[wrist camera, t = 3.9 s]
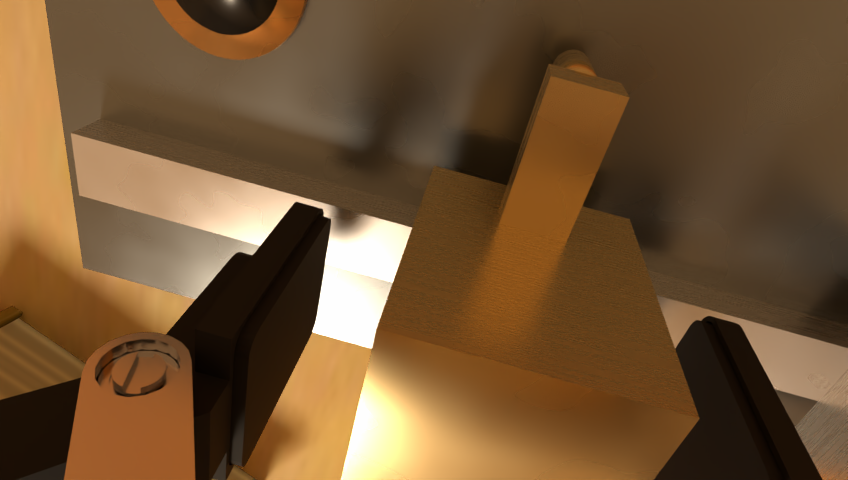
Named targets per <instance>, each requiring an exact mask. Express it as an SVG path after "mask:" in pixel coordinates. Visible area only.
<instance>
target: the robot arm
mask: <svg viewBox="0 0 848 480" xmlns="http://www.w3.org/2000/svg"><path fill="white" fill-rule="evenodd" d="M323 215H324V212H323V209H321V208H318V207H314V206H311V205H307V204H303V203H300V202H295V203H294V204H293V205H292V206H291V208H290V209H289V210H288V211H287V213H286V214H285V215H284V216H283V218H282V219H281V220H280V221H279V223H278V224H277V225H276V227H275V228H274V229H273V230H272V232H271V233H270V234H269V235H268V237H267V238H266V239H265V240H264V242H263V243H262V244H261V246H260V247H259V248H258V249H257V251H256V252H255V253H254V254H253V255H250V254H246V253H242V252H238V253H236V254H235V255H233V256H232V257H231V258H230V260H229V261H228V262H227V263H226V264H225V266H224V267H223V268H222V269H221V270H220V271H219V273H218V274H217V275H216V276H215V277H214V279H213V280H212V281H211V282H210V283H209V284H208V286H207V287H206V288H205V289H204V290H203V292H202V293H201V294H200V295H199V296H198V297H197V299H196V300H195V301H194V302H193V303H192V305H191V306H190V307H189V308H188V309H187V310H186V312H185V313H184V314H183V315H182V316H181V317H180V319H179V320H178V321H177V322H176V323H175V325H174V326H173V327H172V328H171V329H170V330H169V332H168V333H167V334H166V335H164V334H160V333H148V332H140V333H135V334H129V335H124V336H122V337H119V338H116V339H114V340H111V341H109V342H107V343H106V344H104V345H103V346H101V347H100V348H98V349H97V350H96V351H95V352H94V353H93V354H92V355H91V356H90V357H89V358H88V360H87V361H86V364H85V366H84V369H83V371H82V376H81V378H78V379H74V380H70V381H67V382H63V383H60V384H56V385H52V386H49V387H45V388H41V389H38V390H34V391H31V392H27V393H23V394H20V395H16V396H12V397H9V398H5V399H2V400H0V480H212V479H215V480H227V478H228V476H229V474H230V473H231V471H232V469H233V467H234V465H238V466H242V467H243V466H245V464H246V463H247V461H248V459H249V457H250V455H251V453H252V451H253V449H254V447H255V445H256V443H257V441H258V439H259V437H260V435H261V434H262V432H263V430H264V428H265V426H266V424H267V422H268V420H269V418H270V416H271V414H272V412H273V410H274V408H275V406H276V404H277V402H278V400H279V398H280V396H281V394H282V392H283V390H284V388H285V386H286V384H287V382H288V380H289V378H290V376H291V374H292V372H293V370H294V368H295V366H296V364H297V362H298V360H299V358H300V356H301V354H302V352H303V350H304V348H305V346H306V344H307V342H308V340H309V338H310V336H311V334H312V332H313V329H314V326H315V323H316V319H317V313H318V307H319V300H320V294H321V287H322V281H323V274H324V267H325V261H326V254H327V248H328V241H329V235H330V228H331V218H328V217H324V216H323ZM675 350H676V353H677V356H678V358H679V361H680V364H681V367H682V370H683V373H684V376H685V378H686V381H687V384H688V387H689V390H690V393H691V396H692V398H693V401H694V404H695V407H696V410H697V413H698V416H699V418H700V419H699V420H698V422H697V423H696V424H695V426H694V427H693V428H692V430H691V431H690V432H689V434H688V435H687V436H686V437H685V439H684V440H683V441H682V443H681V444H680V445H679V447H678V448H677V449H676V451H675V452H674V453H673V455H672V456H671V457H670V459H669V460H668V461H667V463H666V464H665V465H664V467H663V468H662V469H661V471H660V472H659V473H658V475H657V476H656V477H655V479H654V480H823V479H822V478H821V476H820V474H819V472H818V470H817V468H816V466H815V464H814V462H813V461H812V459H811V457H810V455H809V453H808V451H807V449H806V447H805V446H804V444H803V442H802V440H801V438H800V436H799V434H798V432H797V430H796V429H795V427H794V425H793V423H792V421H791V419H790V417H789V415H788V413H787V412H786V410H785V408H784V406H783V404H782V402H781V400H780V398H779V397H778V395H777V393H776V391H775V389H774V387H773V385H772V383H771V381H770V380H769V378H768V376H767V374H766V372H765V370H764V368H763V366H762V365H761V363H760V361H759V359H758V357H757V355H756V353H755V351H754V349H753V348H752V346H751V344H750V342H749V340H748V338H747V336H746V334H745V333H744V331H743V329H742V327H741V326H740V325H739V324H737V323H734V322H730V321H727V320H723V319H719V318H716V317H712V316H706V317H705V318H703V319H702V320H701V321H700V320H695V321H694V322H693V323H692V324H691V325H690V327H689V328H688V330H687V331H686V333H685V334H684V336H683V337H682V339H681V340H680V342H679V343H678V345H677V347H676V348H675Z"/></svg>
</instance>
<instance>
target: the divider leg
mask: <svg viewBox="0 0 848 480" xmlns="http://www.w3.org/2000/svg"><path fill="white" fill-rule="evenodd" d="M629 98H630V97H629V95H628V94H627V92H626V90H625V89H624V87H623V85H622V83H619V82H615V81H611V80H608V79H604V78H600V77H597V76H596V74H595V71H594V69H593V67H592V65H591V63H590V61H589V59H588V57H587V56H586V55H585V54H584V53H583V52H581V51H579V50H567V51H565V52H563V53H561V54H560V55H559V56H558V57H557V58H556V59H555V61H554V63H553V65H552V64H548V67H547V70H546V73H545V76H544V78H543V81H542V84H541V87H540V90H539V93H538V96H537V99H536V102H535V105H534V108H533V111H532V113H531V116H530V119H529V122H528V125H527V128H526V131H525V134H524V137H523V140H522V143H521V146H520V148H519V151H518V154H517V157H516V160H515V163H514V166H513V169H512V172H511V175H510V178H509V181H508V183H507V185H503V184H499V183H496V182H492V181H488V180H485V179H481V178H477V177H474V176H470V175H466V174H463V173H459V172H456V171H452V170H448V169H445V168H441V167H437V166H434V167H433V170H432V173H431V176H430V179H429V182H428V184H427V187H426V190H425V193H424V196H423V199H422V201H421V204H420V207H419V210H418V213H417V216H416V218H415V221H414V224H413V227H412V230H411V233H410V235H409V238H408V241H407V244H406V247H405V250H404V252H403V255H402V258H401V261H400V264H399V267H398V269H397V272H396V275H395V278H394V281H393V284H392V286H391V289H390V292H389V295H388V298H387V301H386V303H385V306H384V309H383V312H382V315H381V318H380V320H379V323H378V326H377V329H376V333H375V338H374V342H373V346H372V350H371V355H370V359H369V363H368V367H367V372H366V376H365V380H364V384H363V389H362V393H361V397H360V401H359V406H358V410H357V414H356V418H355V423H354V427H353V431H352V435H351V440H350V444H349V448H348V452H347V457H346V461H345V465H344V469H343V474H342V478H341V480H654V479H655V477H656V476H657V475H658V473H659V472H660V471H661V469H662V468H663V467H664V465H665V464H666V463H667V461H668V460H669V459H670V457H671V456H672V455H673V453H674V452H675V451H676V449H677V448H678V447H679V445H680V444H681V443H682V441H683V440H684V439H685V437H686V436H687V435H688V434H689V432H690V431H691V430H692V428H693V427H694V426H695V424H696V423H697V422H698V420H699V419H700V418H699V416H698V413H697V410H696V407H695V404H694V401H693V398H692V396H691V393H690V390H689V387H688V384H687V381H686V378H685V376H684V373H683V370H682V367H681V364H680V361H679V358H678V356H677V353H676V350H675V347H674V344H673V341H672V339H671V336H670V333H669V330H668V327H667V324H666V321H665V319H664V316H663V313H662V310H661V307H660V304H659V301H658V299H657V296H656V293H655V290H654V287H653V284H652V282H651V279H650V276H649V273H648V270H647V267H646V264H645V262H644V259H643V256H642V253H641V250H640V247H639V244H638V242H637V239H636V236H635V233H634V230H633V227H632V224H631V222H630V219H627V218H623V217H619V216H616V215H612V214H608V213H605V212H601V211H597V210H594V209H590V208H587V207H583V206H582V205H583V203H584V201H585V198H586V196H587V194H588V192H589V189H590V187H591V185H592V182H593V180H594V178H595V176H596V173H597V171H598V169H599V166H600V164H601V162H602V160H603V157H604V155H605V153H606V150H607V148H608V146H609V144H610V141H611V139H612V137H613V134H614V132H615V130H616V128H617V125H618V123H619V121H620V118H621V116H622V114H623V112H624V109H625V107H626V105H627V102H628V100H629Z"/></svg>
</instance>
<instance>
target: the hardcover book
mask: <svg viewBox="0 0 848 480" xmlns="http://www.w3.org/2000/svg"><path fill="white" fill-rule="evenodd" d="M21 314H22V312H21V311H19V310H18V309H16V308H15V307H13V306H11V307H9V308H7V309H5V310H3V311H1V312H0V400H2V399H5V398H9V397H12V396H16V395H20V394H23V393H27V392H31V391H34V390H38V389H41V388H45V387H49V386H52V385H56V384H60V383H63V382H67V381H70V380H74V379H78V378H81V376H82V371H83V369H84V366H85V363H84V362H82V361H81V360H79V359H78V358H76V357H75V356H74V355H72V354H71V353H69V352H68V351H66V350H65V349H63V348H62V347H60V346H59V345H57V344H56V343H54V342H53V341H51V340H50V339H48V338H47V337H46V336H44V335H43V334H41V333H40V332H38V331H37V330H35V329H34V328H32V327H31V326H29V325H28V324H26V323H25V322H23V321H22V320H21V319H19V317H20V316H21ZM212 480H215V479H212ZM227 480H256V479H255V478H253V477H252V476H250V475H249V474H247V473H246V472H244V471H243V470H241V469H240V468H238V467H237V466H235V465H234V467H233V469H232V471H231V473H230V474H229V476H228V478H227Z"/></svg>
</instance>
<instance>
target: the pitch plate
mask: <svg viewBox="0 0 848 480" xmlns="http://www.w3.org/2000/svg"><path fill="white" fill-rule="evenodd" d="M45 4H46V11H47V18H48V25H49V32H50V39H51V46H52V53H53V60H54V67H55V74H56V81H57V88H58V95H59V102H60V109H61V116H62V123H63V130H64V137H65V144H66V151H67V158H68V165H69V172H70V179H71V186H72V193H73V200H74V207H75V214H76V221H77V227H78V234H79V241H80V248H81V255H82V262H83V268H86V269H90V270H93V271H97V272H100V273H104V274H108V275H111V276H115V277H118V278H122V279H125V280H129V281H132V282H136V283H140V284H143V285H147V286H150V287H154V288H157V289H161V290H165V291H168V292H172V293H175V294H179V295H182V296H186V297H189V298H193V299H197V297H198V296H199V295H200V294H201V293H202V292H203V290H204V289H205V288H206V287H207V286H208V284H209V283H210V282H211V281H212V280H213V279H214V277H215V276H216V275H217V274H218V273H219V271H220V270H221V269H222V268H223V267H224V266H225V264H226V263H227V262H228V261H229V260H230V258H231V257H232V256H233V255H235V254H236V253H238V252H242V253H246V254H250V255H253V254H254V253H255V252H256V251H257V249H258V248H259V247H260V246H261V244H262V243H263V242H264V240H265V239H266V238H267V237H268V235H269V234H270V233H271V232H272V230H273V229H274V228H275V227H276V225H277V224H278V223H279V221H280V220H281V219H282V218H283V216H284V215H285V214H286V213H287V211H288V210H289V209H290V208H291V206H292V205H293V204H294V203H295V202H300V203H303V204H307V205H311V206H314V207H318V208H321V209H323V212H324V215H323V216H324V217H328V218H331V228H330V235H329V241H328V248H327V254H326V261H325V267H324V274H323V281H322V287H321V294H320V300H319V307H318V313H317V319H316V323H315V326H314V329H313V332H314V333H318V334H321V335H325V336H328V337H332V338H336V339H339V340H343V341H346V342H350V343H353V344H357V345H361V346H364V347H368V348H371V349H372V346H373V342H374V338H375V333H376V329H377V326H378V323H379V320H380V318H381V315H382V312H383V309H384V306H385V303H386V301H387V298H388V295H389V292H390V289H391V286H392V284H393V281H394V278H395V275H396V272H397V269H398V267H399V264H400V261H401V258H402V255H403V252H404V250H405V247H406V244H407V241H408V238H409V235H410V233H411V230H412V227H413V224H414V221H415V218H416V216H417V213H418V210H419V207H420V204H421V201H422V199H423V196H424V193H425V190H426V187H427V184H428V182H429V179H430V176H431V173H432V170H433V167H434V166H437V167H441V168H445V169H448V170H452V171H456V172H459V173H463V174H466V175H470V176H474V177H477V178H481V179H485V180H488V181H492V182H496V183H499V184H503V185H507V183H508V181H509V178H510V175H511V172H512V169H513V166H514V163H515V160H516V157H517V154H518V151H519V148H520V146H521V143H522V140H523V137H524V134H525V131H526V128H527V125H528V122H529V119H530V116H531V113H532V111H533V108H534V105H535V102H536V99H537V96H538V93H539V90H540V87H541V84H542V81H543V78H544V76H545V73H546V70H547V67H548V64H552V65H553V63H554V61H555V59H556V58H557V57H558V56H559V55H560V54H561V53H563V52H565V51H567V50H579V51H581V52H583V53H584V54H585V55H586V56H587V57H588V59H589V61H590V63H591V65H592V67H593V69H594V71H595V74H596V76H597V77H600V78H604V79H608V80H611V81H615V82H619V83H622V85H623V87H624V89H625V90H626V92H627V94H628V95H629V97H630V98H629V100H628V102H627V105H626V107H625V109H624V112H623V114H622V116H621V118H620V121H619V123H618V125H617V128H616V130H615V132H614V134H613V137H612V139H611V141H610V144H609V146H608V148H607V150H606V153H605V155H604V157H603V160H602V162H601V164H600V166H599V169H598V171H597V173H596V176H595V178H594V180H593V182H592V185H591V187H590V189H589V192H588V194H587V196H586V198H585V201H584V203H583V205H582V206H583V207H587V208H590V209H594V210H597V211H601V212H605V213H608V214H612V215H616V216H619V217H623V218H627V219H630V222H631V224H632V227H633V230H634V233H635V236H636V239H637V242H638V244H639V247H640V250H641V253H642V256H643V259H644V262H645V264H646V267H647V270H648V273H649V276H650V279H651V282H652V284H653V287H654V290H655V293H656V296H657V299H658V301H659V304H660V307H661V310H662V313H663V316H664V319H665V321H666V324H667V327H668V330H669V333H670V336H671V339H672V341H673V344H674V347H675V348H676V347H677V345H678V343H679V342H680V340H681V339H682V337H683V336H684V334H685V333H686V331H687V330H688V328H689V327H690V325H691V324H692V323H693V322H694V321H695V320H700V321H701V320H702V319H703V318H705V317H706V316H712V317H716V318H719V319H723V320H727V321H730V322H734V323H737V324H739V325H740V326H741V327H742V329H743V331H744V333H745V334H746V336H747V338H748V340H749V342H750V344H751V346H752V348H753V349H754V351H755V353H756V355H757V357H758V359H759V361H760V363H761V365H762V366H763V368H764V370H765V372H766V374H767V376H768V378H769V380H770V381H771V383H772V385H773V387H774V389H775V391H776V393H777V395H778V397H779V398H780V400H781V402H782V404H783V406H784V408H785V410H786V412H787V413H788V415H789V417H790V419H791V421H792V423H793V425H794V427H795V429H796V430H797V432H798V434H799V436H800V438H801V440H802V442H803V444H804V446H805V447H806V449H807V451H808V453H809V455H810V457H811V459H812V461H813V462H814V464H815V466H816V468H817V470H818V472H819V474H820V476H821V478H822V479H823V480H848V0H45Z"/></svg>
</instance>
